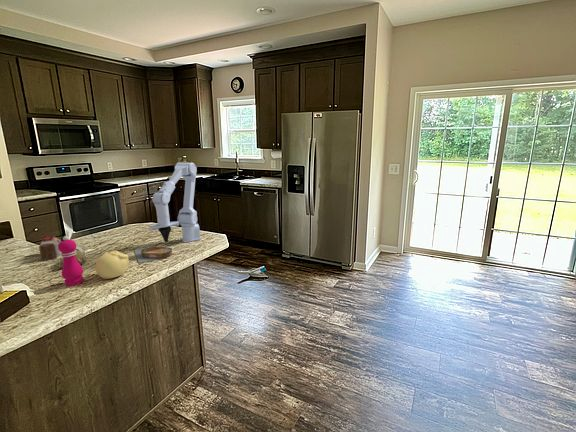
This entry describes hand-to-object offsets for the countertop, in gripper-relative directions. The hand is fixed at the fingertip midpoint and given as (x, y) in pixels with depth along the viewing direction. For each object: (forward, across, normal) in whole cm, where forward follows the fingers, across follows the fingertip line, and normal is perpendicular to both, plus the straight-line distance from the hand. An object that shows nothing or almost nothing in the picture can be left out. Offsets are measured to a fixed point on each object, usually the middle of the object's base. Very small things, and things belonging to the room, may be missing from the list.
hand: (166, 241), depth 157 cm
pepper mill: (+5, +42, +10) cm, 43 cm away
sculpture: (+6, +28, +14) cm, 32 cm away
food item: (+6, +46, -34) cm, 57 cm away
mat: (+5, +9, -1) cm, 11 cm away
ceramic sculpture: (+6, +39, -13) cm, 41 cm away
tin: (+4, +3, 0) cm, 5 cm away
